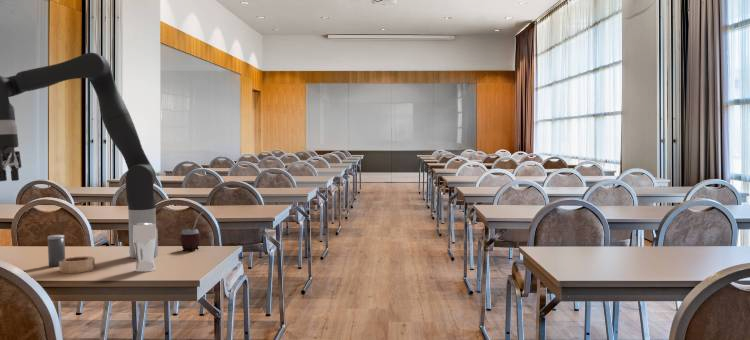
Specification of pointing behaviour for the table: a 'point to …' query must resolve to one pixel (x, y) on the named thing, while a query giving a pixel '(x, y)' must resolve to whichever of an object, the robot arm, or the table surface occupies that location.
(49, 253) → the plug
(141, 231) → the beer glass
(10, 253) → the table surface
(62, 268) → the wooden polygonal ring
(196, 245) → the mate gourd
